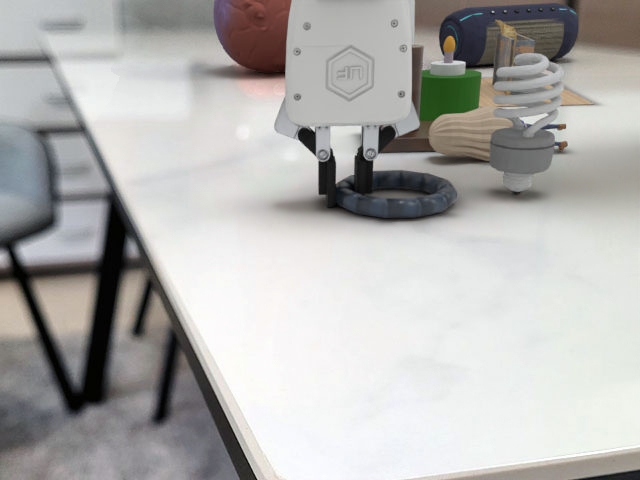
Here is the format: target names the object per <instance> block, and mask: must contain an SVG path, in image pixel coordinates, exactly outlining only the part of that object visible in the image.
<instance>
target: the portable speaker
mask: <svg viewBox="0 0 640 480" xmlns="http://www.w3.org/2000/svg"><path fill="white" fill-rule="evenodd" d="M496 20H498V21H499V20H501V21H502V22H503V23H505V24H506V25H509V26H511V27H514V29H515V32H516V34H519V35H522V36H524V37H527V38H529V39H532V40H534V41H535V45H534V53H536V54H541V55H544V56H546V57H547V59H548V60H549V61H550V62H553V61H556V60H559V59H563V57H565V56H567V55H568V54H569V53H570V52H571V50H572V49H573V47H575V44H576V41H577V38H578V34H579V16H578V14H577V12H576V11H575V9H574V8H572V7H570V6H569V5H566V4H561V3H557V2H544V3H527V4H526V3H525V4H508V5H489V6H473V7H471V6H470V7H465V8H462V9H459V10H455V11H453V12H452V13H450V14H448V15H447V16H445V17H444V19H443V20H442V22H441V24H440V28H439V31H438V42H439V43H438V44H439V48H440V52H441V54H442V55H443V57H444V53H445V52H444V49H443V46H444V42H445V40H446V38H447V37H448V36H452V37H453V38H454V40H455V50H454V51H453V52H454V53H453V61H463V62H466V66H465V68H467V67H482V66H483V67H484V66H494V60H495V49H496V38H497V33H501V28H500V26H499V25H498V22H495V21H496Z"/></svg>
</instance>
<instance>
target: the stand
mask: <svg viewBox="0 0 640 480" xmlns="http://www.w3.org/2000/svg"><path fill="white" fill-rule="evenodd" d="M424 49H425V46H424V45H423V44H414V45H412V97H411V99H412V102H413V104H414V107H415V110H416V113H417V115H418V118H420V100H421V83H422V70H423V66H424V65H423V64H424V63H423V62H424ZM433 122H434V121H420V126H419V127H418V128H417V129H416V130H413V131H411V132H409V133H406V134H404V135H402V136H398V137H396V138H394V139H393V140H392V141H391V142H390V143H389V144H388V145H387V146H386V147H385V148H384V149H383V150H382V151H381V152H380V153H410V152H411V153H412V152H413V153H415V152H436V151H435V150H434V149H433V148H432V146H431V145H430V142H429V138H428V137H429V136H430V135H429V130H430V127H431V125H432V123H433ZM380 126H381V125H379V127H380Z"/></svg>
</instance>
